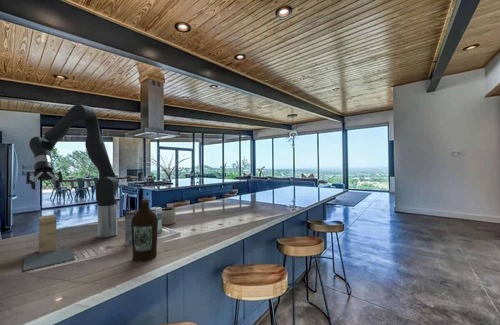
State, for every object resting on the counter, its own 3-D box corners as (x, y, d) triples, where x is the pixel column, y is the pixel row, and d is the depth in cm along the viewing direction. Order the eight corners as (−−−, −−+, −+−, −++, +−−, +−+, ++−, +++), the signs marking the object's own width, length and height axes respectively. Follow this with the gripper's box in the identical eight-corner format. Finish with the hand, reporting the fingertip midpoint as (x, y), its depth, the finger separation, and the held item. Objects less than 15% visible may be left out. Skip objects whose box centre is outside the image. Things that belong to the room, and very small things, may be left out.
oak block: (38, 250, 111) (38, 216, 111) (55, 247, 115) (55, 214, 115) (39, 254, 107) (39, 218, 107) (56, 250, 111) (56, 216, 111)
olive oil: (134, 253, 107) (134, 198, 107) (159, 251, 109) (159, 197, 109) (128, 263, 96) (128, 201, 96) (156, 260, 99) (155, 200, 99)
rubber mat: (24, 257, 103) (24, 256, 103) (70, 248, 114) (70, 247, 114) (23, 271, 89) (23, 270, 89) (75, 259, 100) (75, 258, 100)
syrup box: (156, 234, 136) (156, 208, 136) (147, 233, 137) (147, 208, 137) (162, 231, 142) (162, 207, 142) (153, 230, 143) (153, 206, 143)
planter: (155, 225, 156) (155, 210, 156) (163, 221, 167) (163, 207, 167) (170, 225, 155) (170, 211, 155) (178, 221, 165) (178, 207, 165)
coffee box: (132, 240, 126) (131, 209, 126) (144, 239, 126) (144, 209, 127) (124, 245, 117) (124, 213, 117) (137, 245, 117) (137, 212, 117)
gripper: (25, 160, 121) (26, 184, 113) (61, 160, 131) (64, 182, 123) (25, 170, 125) (26, 194, 117) (59, 169, 135) (62, 191, 127)
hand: (45, 188), depth 120 cm, fingers open, 8 cm apart
